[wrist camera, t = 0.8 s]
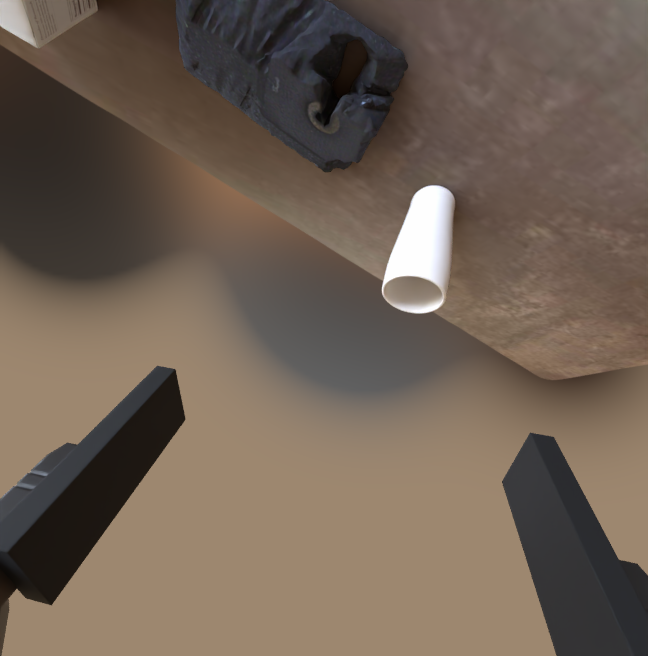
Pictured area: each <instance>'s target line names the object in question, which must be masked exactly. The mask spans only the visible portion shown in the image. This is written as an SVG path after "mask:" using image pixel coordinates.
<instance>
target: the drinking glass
mask: <svg viewBox="0 0 648 656" xmlns="http://www.w3.org/2000/svg"><path fill="white" fill-rule="evenodd" d="M454 211H455V198H454V196H453V194H452V193H451V192H450V191H449V190H448V189H446V188H444V187H442V186H437V185H432V186H427V187H424V188H422V189H420V190H419V191H418V192H417V193H416V194H415V195H414V196H413V198H412V201H411V204H410V208H409V211H408V213H407V216H406V218H405V221H404V223H403V226H402V228H401V231H400V233H399V236H398V238H397V241H396V243H395V246H394V248H393V251H392V253H391V256H390V259H389V262H388V265H387V268H386V272H385V276H384V281H383V286H382V294H383V297H384V298H385V300H386V301H387V302H388V303H389V304H391V305H392V306H393V307H395V308H397V309H399V310H402V311H405V312H409V313H428V312H432V311H435V310H437V309H439V308H440V307H441V306H442V305H443V304H444V302H445V300H446V296H447V292H448V287H449V282H450V276H451V267H452V246H453V222H454Z"/></svg>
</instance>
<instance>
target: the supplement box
mask: <svg viewBox="0 0 648 656" xmlns="http://www.w3.org/2000/svg"><path fill="white" fill-rule="evenodd" d="M97 11H98V7H97V1H96V0H0V26H1V27H3V28H4V29H6V30H8V31H9V32H11V33H13V34H14V35H16V36H18V37H19V38H21V39H23V40H24V41H26V42H28V43H30V44H31V45H33V46H35V47H36V48H41V47H43V46H44V45H46V44H47V43H49V42H50V41H52V40H53V39H55V38H56V37H58V36H59V35H61V34H62V33H64V32H65V31H67V30H68V29H70V28H71V27H73V26H75V25H76V24H78V23H79V22H81V21H82V20H84V19H86V18H87V17H89V16H91V15H92V14H94V13H96V12H97Z"/></svg>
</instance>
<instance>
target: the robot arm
mask: <svg viewBox="0 0 648 656" xmlns="http://www.w3.org/2000/svg"><path fill="white" fill-rule="evenodd" d="M184 421H185V415H184V410H183V405H182V400H181V395H180V390H179V385H178V380H177V375H176V370H175V369H171V368H166V367H160V366H157V367H156V368H155V369H154V370H153V371H152V372H151V373H150V374H149V375H148V376H147V377H146V378H145V379H143V380H142V381H141V382H140V383H139V385H137V387H135V388H134V389H133V390H132V391H131V392H130V393H129V394H128V395H127V396H126V397H125V398H124V399H123V400H122V401H121V402H120V403H119V404H118V405H117V406H116V407H115V408H114V409H113V410H112V411H111V412H110V413H109V414H108V415H107V416H106V417H105V418H104V419H103V420H102V421H101V422H100V423H99V424H98V425H97V426H96V427H95V428H94V429H93V430H92V431H91V432H90V433H89V434H88V435H87V436H86V437H85V438H84V439H83V440H82V441H81V442H80V443H79V444H78V445H76V444H71V443H66V444H64V445H63V446H61V447H59V448H58V449H56V450H54V451H53V452H51V453H49V454H48V455H47V456H46V457H45V458H44V459H42V460H41V461H40V462H39V463H38V464H37V465H36V466H35V467H34V468H33V469H32V470H31V472H30V473H27V474H26V475H25V476H24V477H23V478H22V479H21V480H20V481H19V482H18V483H17V485H16V486H13V488H11V489H10V490H9V491H8V492H7V493H6V494H5V495H4V496H3V497H2V498H1V499H0V656H1V655H2V649H3V643H4V637H5V631H6V625H7V619H8V613H9V600H8V598H9V597H10V596H11V595H12V594H13V592H14V591H15V590H16V589H18V590H19V591H20V592H21V593H22V595H24V597H25V598H27V599H31V600H34V601H38V602H42V603H45V604H49V605H52V604H53V602H54V601H55V600H56V598H57V597H58V595H59V594H60V593H61V591H62V590H63V589H64V587H65V586H66V584H67V583H68V582H69V580H70V579H71V578H72V576H73V575H74V573H75V572H76V571H77V569H78V568H79V566H80V565H81V564H82V562H83V561H84V559H85V558H86V557H87V555H88V554H89V552H90V551H91V550H92V548H93V547H94V545H95V544H96V543H97V541H98V540H99V539H100V537H101V536H102V535H103V533H104V532H105V530H106V529H107V527H108V526H109V525H110V523H111V522H112V521H113V519H114V518H115V516H116V515H117V514H118V512H119V511H120V510H121V508H122V507H123V505H124V504H125V503H126V501H127V500H128V498H129V497H130V496H131V494H132V493H133V492H134V490H135V489H136V487H137V486H138V485H139V483H140V482H141V480H142V479H143V478H144V476H145V475H146V474H147V472H148V471H149V469H150V468H151V466H152V465H153V464H154V462H155V461H156V460H157V458H158V457H159V455H160V454H161V453H162V451H163V450H164V449H165V447H166V446H167V444H168V443H169V442H170V440H171V439H172V437H173V436H174V435H175V433H176V432H177V430H178V429H179V428H180V426H181V425H182V424H183V422H184ZM502 483H503V486H504V490H505V493H506V496H507V499H508V502H509V506H510V509H511V512H512V515H513V518H514V521H515V525H516V528H517V531H518V534H519V537H520V541H521V544H522V547H523V550H524V553H525V556H526V559H527V563H528V566H529V569H530V572H531V575H532V579H533V582H534V585H535V588H536V592H537V595H538V598H539V601H540V604H541V607H542V611H543V614H544V617H545V620H546V623H547V626H548V629H549V633H550V636H551V639H552V642H553V646H554V649H555V652H556V655H557V656H648V575H647V574H646V573H645V572H644V571H643V570H642V569H641V568H640V567H639V565H638V564H635V563H631V562H626V561H621V560H619V559H618V558H617V556H616V554H615V552H614V550H613V548H612V546H611V544H610V542H609V540H608V539H607V537H606V535H605V533H604V531H603V529H602V527H601V525H600V523H599V522H598V520H597V518H596V516H595V514H594V512H593V510H592V508H591V506H590V505H589V503H588V501H587V499H586V497H585V495H584V493H583V491H582V490H581V488H580V486H579V484H578V482H577V480H576V478H575V476H574V474H573V472H572V471H571V469H570V467H569V465H568V463H567V461H566V459H565V457H564V456H563V454H562V452H561V450H560V448H559V446H558V444H557V442H556V440H555V439H554V437H551V436H545V435H539V434H534V433H530V434H529V436H528V438H527V439H526V441H525V443H524V444H523V446H522V448H521V450H520V451H519V453H518V455H517V456H516V458H515V460H514V462H513V463H512V465H511V467H510V469H509V470H508V472H507V474H506V476H505V477H504V479H503V481H502Z"/></svg>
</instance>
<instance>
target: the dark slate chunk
mask: <svg viewBox="0 0 648 656" xmlns="http://www.w3.org/2000/svg"><path fill="white" fill-rule="evenodd" d="M176 20H177V26H178V33H179V38H180V39H179V49H180V53H181V57H182V59H183V64H184V68H185V69H186V70H187V71H188V72H189V73H190V74H192V75H193V76H194V77H196V78H198V79H199V80H200V81H201V82H202V83H204V84H205V85H207V86H208V87H210V88H212V89H213V90H215V91H217V92H219V93H220V94H221V95H222V96H223V97H224V98H225V99H227V100H228V101H229V102H230V103H232V104H233V105H234V106H236V107H238V108H239V109H240V110H241V111H243V112H244V113H245V114H246V115H248V116H249V117H250V118H251V119H252V120H253V121H255V122H256V123H257V124H259V125H260V126H262V127H263V128H265V129H267V130H268V131H269V132H270V133H271V135H272V136H275V137H277V138H278V139H279V140H281V141H282V142H283V143H284V144H285V145H287V146H288V147H290V148H291V149H294V150H295V151H296V152H297V153H299V154H300V155H301V156H302V157H304V158H306V159H308V160H309V161H310V162H313V163H315V165H316V166H317V167H318V168H320V169H322V170H323V171H324V172H331V171H332V169H333V168H336V167H337V168H341V169H343V170H344V169H346V168H347V167H349V166H350V165H351V163H352V162H356V163H359V162H360V160H361V158H362V156H363V155H364V152H365V150H366V148H367V147H368V145H369V144H370V142H371V139H372V138H373V137H375V136H376V135H377V132H378V130H379V129H380V127H381V125H382V123H383V121H384V120H385V118H386V116H387V114H388V113H389V110H390V104H391V103H392V102H393V100H394V98H393V97H392V96H391V95H390V94H391V92H394V91H395V90H397V88H398V86H399V84H398V83H399V81H400V80H401V79H402V78H403V76H404V71H405V70H406V69H407V68H408V64H407V62H406V60H405V57H404V54H403V52H402V51H401V50H399V49H396V48H395V47H393V46H392V45H391V44H390V43H389V42H388V41H387V40H386V39H385V38H384V37H381V36H378V35H376V34H375V33H374V32H373V31H371V30H370V29H368V28H366V27H365V26H364V25H363V24H362V23H360V22H358V21H357V20H355V19H354V18H353V17H351V16H350V15H349V14H347V13H346V12H345V11H344V10H338V8H337V7H336V6H335V5H334V4H332V3H330V2H329V1H324V0H176ZM355 39H357V40H359V41H361V42H362V44H363V46H364V48H365V49H366V51H367V61H366V63H365V65H364V66H363V69H362V71H361V73H360V75H359V76H358V77H357V78H356V79H355V80H354V82H353V85H352V86H351V91H350V92H349V93H348V94H346V95H343V96H342V98H341V99H340V100H339V98H337V97H336V95H335V92H334V91H333V89H332V82H333V80H334V79H336V78H337V76H338V74H339V71H340V67H341V63H342V59H343V56H344V50H345V47H346V44H347V42H351V41H353V40H355Z"/></svg>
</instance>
